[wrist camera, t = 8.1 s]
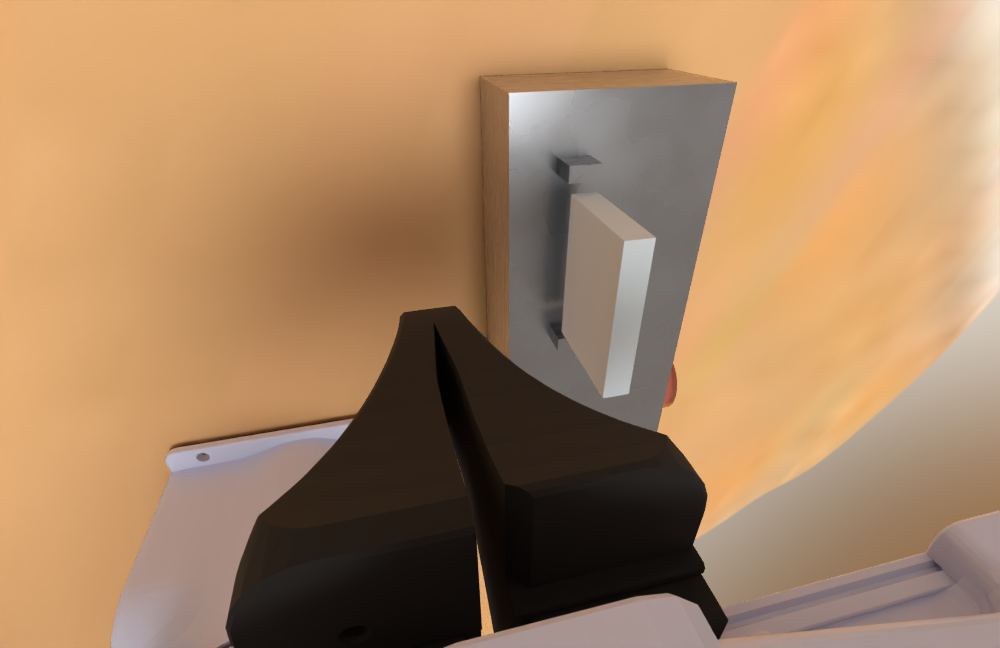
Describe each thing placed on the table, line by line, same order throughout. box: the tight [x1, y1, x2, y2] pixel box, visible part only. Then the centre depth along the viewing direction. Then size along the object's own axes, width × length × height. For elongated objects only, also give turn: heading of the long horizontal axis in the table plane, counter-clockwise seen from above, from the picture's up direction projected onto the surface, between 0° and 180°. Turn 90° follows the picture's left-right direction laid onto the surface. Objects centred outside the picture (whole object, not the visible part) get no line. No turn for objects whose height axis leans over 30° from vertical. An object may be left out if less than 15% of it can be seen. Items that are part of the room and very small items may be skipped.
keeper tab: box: [562, 192, 656, 398], centre depth 14 cm, size 1×5×4 cm, turn 0°
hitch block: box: [480, 69, 737, 432], centre depth 20 cm, size 7×18×5 cm, turn 1°
